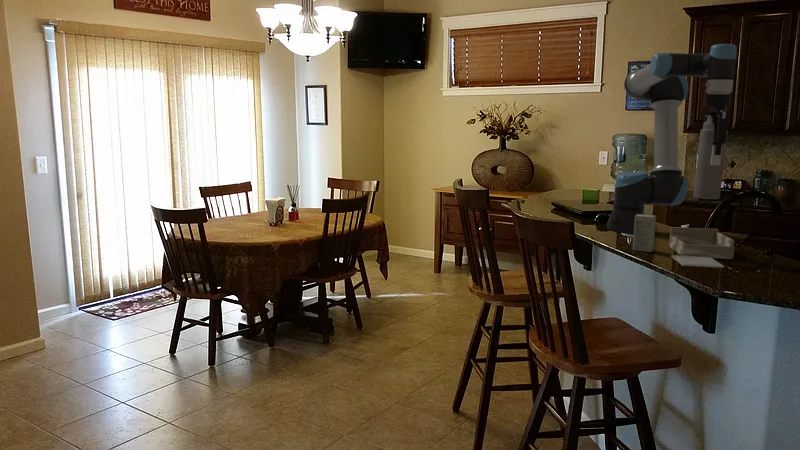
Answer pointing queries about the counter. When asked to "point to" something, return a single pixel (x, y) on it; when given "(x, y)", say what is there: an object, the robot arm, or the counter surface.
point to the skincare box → (644, 232)
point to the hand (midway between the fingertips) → (710, 163)
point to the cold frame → (701, 242)
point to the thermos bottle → (708, 165)
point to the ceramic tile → (697, 261)
